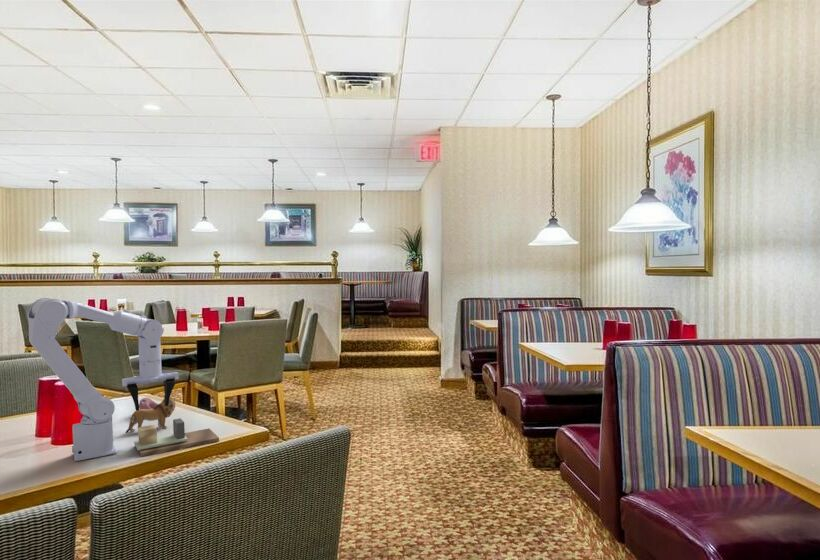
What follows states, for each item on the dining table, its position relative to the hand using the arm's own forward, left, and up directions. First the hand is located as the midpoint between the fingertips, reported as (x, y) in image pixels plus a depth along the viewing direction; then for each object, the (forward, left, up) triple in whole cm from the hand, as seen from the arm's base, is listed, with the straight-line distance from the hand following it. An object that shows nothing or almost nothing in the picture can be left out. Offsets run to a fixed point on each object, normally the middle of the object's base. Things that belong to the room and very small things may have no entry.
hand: (152, 407), depth 154 cm
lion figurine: (+2, +12, -10) cm, 16 cm away
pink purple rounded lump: (+4, +31, -10) cm, 32 cm away
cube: (-2, -8, -8) cm, 11 cm away
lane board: (+5, -8, -9) cm, 13 cm away
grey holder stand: (+1, -8, -8) cm, 11 cm away
